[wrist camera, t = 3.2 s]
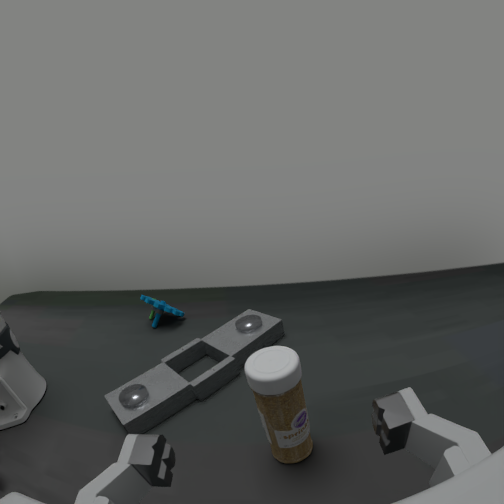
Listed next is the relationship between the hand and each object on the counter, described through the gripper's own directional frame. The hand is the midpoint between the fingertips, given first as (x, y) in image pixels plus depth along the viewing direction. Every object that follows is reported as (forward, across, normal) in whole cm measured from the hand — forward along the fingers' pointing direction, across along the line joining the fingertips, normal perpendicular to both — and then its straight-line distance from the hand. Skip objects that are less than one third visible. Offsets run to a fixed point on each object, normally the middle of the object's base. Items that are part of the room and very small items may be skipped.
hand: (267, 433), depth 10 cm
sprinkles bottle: (+12, 0, -20) cm, 23 cm away
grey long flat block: (+28, -12, -20) cm, 37 cm away
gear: (+49, -23, -20) cm, 57 cm away
